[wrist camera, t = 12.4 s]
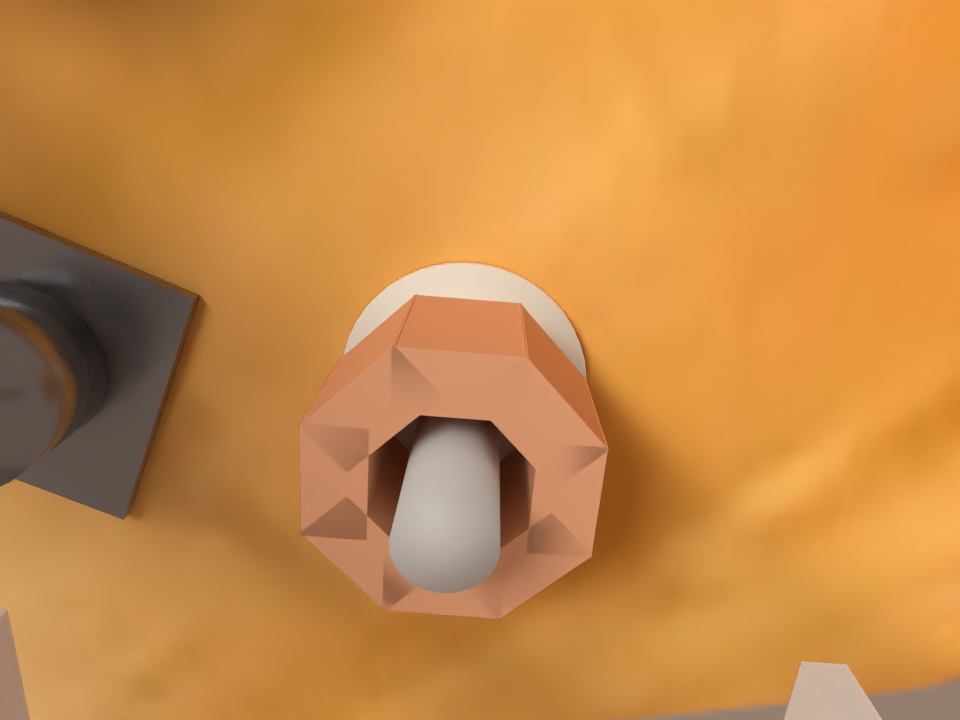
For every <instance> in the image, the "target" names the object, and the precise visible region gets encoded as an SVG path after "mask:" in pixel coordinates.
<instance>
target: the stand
mask: <svg viewBox="0 0 960 720" xmlns="http://www.w3.org/2000/svg"><path fill="white" fill-rule="evenodd" d="M198 299H199V295H197V294H195V293H192V292H190V291H188V290H185V289H183V288H181V287H178V286H176V285H173V284H171V283H169V282H166V281H164V280H162V279H159V278H157V277H154V276H152V275H150V274H147V273H145V272H143V271H140V270H138V269H136V268H133V267H131V266H128V265H126V264H124V263H121V262H119V261H117V260H114V259H112V258H110V257H107V256H105V255H102V254H100V253H98V252H95V251H93V250H91V249H88V248H86V247H83V246H81V245H79V244H76V243H74V242H72V241H69V240H67V239H65V238H62V237H60V236H57V235H55V234H53V233H50V232H48V231H46V230H43V229H41V228H38V227H36V226H34V225H31V224H29V223H27V222H24V221H22V220H20V219H17V218H15V217H12V216H10V215H8V214H5V213H3V212H1V211H0V486H2V485H4V484H6V483H9V482H10V481H12V480H13V479H17V480H20V481H23V482H25V483H28V484H30V485H33V486H36V487H38V488H41V489H44V490H46V491H49V492H52V493H54V494H57V495H60V496H62V497H65V498H68V499H70V500H73V501H76V502H78V503H81V504H84V505H86V506H89V507H92V508H94V509H97V510H100V511H102V512H105V513H108V514H110V515H113V516H116V517H118V518H121V519H124V518H125V517H126V516H127V515H128V514H129V513H130V510H131V507H132V504H133V500H134V497H135V494H136V491H137V488H138V485H139V482H140V479H141V476H142V473H143V469H144V466H145V463H146V460H147V457H148V454H149V451H150V448H151V445H152V441H153V438H154V435H155V432H156V429H157V426H158V423H159V420H160V417H161V414H162V410H163V407H164V404H165V401H166V398H167V395H168V392H169V389H170V386H171V382H172V379H173V376H174V373H175V370H176V367H177V364H178V361H179V358H180V354H181V351H182V348H183V345H184V342H185V339H186V336H187V333H188V330H189V327H190V323H191V320H192V317H193V314H194V311H195V308H196V305H197V302H198Z"/></svg>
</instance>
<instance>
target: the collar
mask: <svg viewBox="0 0 960 720" xmlns="http://www.w3.org/2000/svg"><path fill="white" fill-rule="evenodd" d="M419 415H425V416H437V417H450V418H462V419H475V420H488V421H492V423H493V424H494V425H495V426H496V427H497V428H498V429H499V430H500V431H501V432H502V433H503V434H504V435H505V437H506V438H507V439H508V440H509V441H510V442H511V443H512V444H513V445H514V446H515V447H516V448H517V449H516V450H514V451H513V452H512V453H510V454H509V455H508V456H506V457H505V458H504V459H502V460H501V461H500V556H499V559H498V562H497V565H496V567H495V568H494V570H493V571H492V573H491V574H490V575H489V576H488V577H487V578H486V579H485V580H484V581H483V582H481V583H480V584H478V585H477V586H475V587H473V588H471V589H468V590H465V591H461V592H456V593H436V592H432V591H428V590H425V589H422V588H420V587H418V586H416V585H414V584H412V583H411V582H409V581H408V580H407V579H405V578H404V577H403V576H402V575H401V574H400V572H399V571H398V570H397V568H396V567H395V565H394V563H393V561H392V559H391V555H390V551H389V538H390V533H391V529H392V525H393V521H394V517H395V513H396V509H397V505H398V501H399V497H400V493H401V489H402V485H403V481H404V477H405V472H406V468H407V464H408V460H409V456H410V451H409V450H408V449H407V448H406V447H405V446H404V445H403V444H402V443H401V442H400V441H399V440H398V439H397V438H396V437H395V436H394V435H395V434H397V433H398V432H399V431H401V430H402V429H403V428H404V427H406V426H407V425H408V424H409V423H411V422H412V421H413V420H414V419H416V418H417V417H418V416H419ZM299 427H300V497H301V532H300V534H301V535H303V536H304V537H305V538H306V539H307V540H308V541H309V542H310V543H311V544H312V545H313V546H315V547H316V548H317V549H318V550H319V551H320V552H321V553H322V554H323V555H324V556H325V557H327V558H328V559H329V560H330V561H331V562H332V563H333V564H334V565H335V566H336V567H337V568H338V569H340V570H341V571H342V572H343V573H344V574H345V575H346V576H347V577H348V578H349V579H350V580H351V581H353V582H354V583H355V584H356V585H357V586H358V587H359V588H360V589H361V590H362V591H363V592H365V593H366V594H367V595H368V596H369V597H370V598H371V599H372V600H373V601H374V602H375V603H376V604H378V605H379V606H380V607H381V608H382V610H384V611H385V610H389V611H402V612H415V613H427V614H440V615H453V616H466V617H479V618H492V619H501V617H503V616H504V615H506V614H507V613H509V612H510V611H512V610H513V609H515V608H516V607H518V606H519V605H521V604H522V603H524V602H525V601H527V600H528V599H530V598H531V597H532V596H534V595H535V594H537V593H538V592H540V591H541V590H543V589H544V588H546V587H547V586H549V585H550V584H552V583H553V582H555V581H556V580H558V579H559V578H561V577H562V576H564V575H565V574H566V573H568V572H569V571H571V570H572V569H574V568H575V567H577V566H578V565H580V564H581V563H583V562H584V561H586V560H587V559H589V558H591V557H592V556H593V555H592V549H593V543H594V536H595V530H596V524H597V517H598V511H599V504H600V498H601V491H602V485H603V479H604V472H605V466H606V459H607V453H608V451H609V448H608V445H607V442H606V439H605V436H604V433H603V430H602V427H601V424H600V421H599V417H598V414H597V411H596V408H595V405H594V402H593V399H592V396H591V393H590V390H589V387H588V384H587V381H586V378H585V377H584V376H583V375H582V374H581V373H580V372H579V371H578V369H577V368H576V367H575V366H574V365H573V364H572V362H571V361H570V360H569V359H568V358H567V357H566V355H565V354H564V353H563V352H562V351H561V350H560V349H559V347H558V346H557V345H556V344H555V343H554V342H553V340H552V339H551V338H550V337H549V336H548V335H547V333H546V332H545V331H544V330H543V329H542V328H541V326H540V325H539V324H538V323H537V322H536V321H535V320H534V318H533V317H532V316H531V315H530V314H529V313H528V311H527V310H526V309H525V308H524V307H523V306H522V303H520V302H519V303H512V302H499V301H487V300H474V299H462V298H449V297H437V296H425V295H417V294H415V295H413V297H412V298H411V299H410V300H408V301H407V302H406V303H405V304H404V305H403V306H401V307H400V308H399V309H398V310H397V311H396V312H394V313H393V314H392V315H391V316H390V317H388V318H387V319H386V320H385V321H384V322H383V323H381V324H380V325H379V326H378V327H377V328H376V329H374V330H373V331H372V332H371V333H370V334H369V335H367V336H366V337H365V338H364V339H363V340H362V341H360V342H359V343H358V344H357V345H356V346H354V347H353V348H352V349H351V350H350V351H349V352H347V353H346V354H345V355H344V356H343V357H342V358H339V360H338V362H337V363H336V365H335V367H334V368H333V370H332V371H331V373H330V375H329V376H328V378H327V380H326V381H325V383H324V384H323V386H322V388H321V389H320V391H319V393H318V394H317V396H316V397H315V399H314V401H313V402H312V404H311V406H310V407H309V409H308V410H307V412H306V414H305V415H304V417H303V419H302V420H301V422H300V424H299Z"/></svg>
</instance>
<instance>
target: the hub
mask: <svg viewBox="0 0 960 720" xmlns="http://www.w3.org/2000/svg"><path fill="white" fill-rule="evenodd" d="M415 294H417V295H425V296H437V297H449V298H462V299H474V300H487V301H499V302H512V303H519V302H520V303H522V306H523V307H524V308H525V309H526V310H527V311H528V313H529V314H530V315H531V316H532V317H533V318H534V320H535V321H536V322H537V323H538V324H539V325H540V326H541V328H542V329H543V330H544V331H545V332H546V333H547V335H548V336H549V337H550V338H551V339H552V340H553V342H554V343H555V344H556V345H557V346H558V347H559V349H560V350H561V351H562V352H563V353H564V354H565V355H566V357H567V358H568V359H569V360H570V361H571V362H572V364H573V365H574V366H575V367H576V368H577V369H578V371H579V372H580V373H581V374H582V375H583V376H584V377H585V378H586V379H587V375H586V366H585V359H584V356H583V352H582V348H581V345H580V342H579V339H578V337H577V335H576V332H575V330H574V328H573V326H572V324H571V322H570V321H569V319H568V317H567V316H566V314H565V313H564V311H563V310H562V309H561V308H560V306H559V305H558V304H557V303H556V302H555V301H554V300H553V299H552V298H551V297H550V296H549V295H548V294H547V293H546V292H545V291H544V290H543V289H541V288H540V287H538V286H537V285H536V284H534V283H533V282H531V281H530V280H528V279H526V278H524V277H522V276H521V275H519V274H517V273H515V272H512V271H509V270H507V269H504V268H501V267H498V266H494V265H489V264H485V263H477V262H447V263H441V264H435V265H431V266H428V267H424V268H421V269H418V270H416V271H413V272H411V273H409V274H407V275H405V276H403V277H401V278H399V279H398V280H396V281H395V282H393V283H391V284H390V285H389V286H387V287H386V288H385V289H384V290H382V291H381V292H380V293H379V294H378V295H377V296H376V297H375V298H374V299H373V300H372V301H371V302H370V303H369V304H368V306H367V307H366V308H365V310H364V311H363V313H362V314H361V316H360V317H359V319H358V320H357V322H356V323H355V325H354V327H353V329H352V331H351V333H350V335H349V338H348V341H347V344H346V347H345V350H344V355H345V354H346V353H347V352H349V351H350V350H351V349H352V348H353V347H354V346H356V345H357V344H358V343H359V342H360V341H362V340H363V339H364V338H365V337H366V336H367V335H369V334H370V333H371V332H372V331H373V330H374V329H376V328H377V327H378V326H379V325H380V324H381V323H383V322H384V321H385V320H386V319H387V318H388V317H390V316H391V315H392V314H393V313H394V312H396V311H397V310H398V309H399V308H400V307H401V306H403V305H404V304H405V303H406V302H407V301H408V300H410V299H411V298H412V297H413V295H415ZM344 355H343V356H344ZM394 436H395V437H396V438H397V439H398V440H399V441H400V442H401V443H402V444H403V445H404V446H405V447H406V448H407V449H408V450H409V451H410V456H409V460H408V464H407V468H406V472H405V477H404V481H403V485H402V489H401V493H400V497H399V501H398V505H397V509H396V513H395V517H394V521H393V525H392V529H391V533H390V538H389V551H390V555H391V559H392V561H393V563H394V565H395V567H396V568H397V570H398V571H399V572H400V574H401V575H402V576H403V577H404V578H405V579H407V580H408V581H409V582H411V583H412V584H414V585H416V586H418V587H420V588H422V589H425V590H428V591H432V592H436V593H456V592H461V591H465V590H468V589H471V588H473V587H475V586H477V585H478V584H480V583H481V582H483V581H484V580H485V579H486V578H487V577H488V576H489V575H490V574H491V573H492V571H493V570H494V568H495V567H496V565H497V562H498V559H499V556H500V461H501V460H502V459H504V458H505V457H506V456H508V455H509V454H510V453H512V452H513V451H514V450H516V449H517V448H516V447H515V446H514V445H513V444H512V443H511V442H510V441H509V440H508V439H507V438H506V437H505V435H504V434H503V433H502V432H501V431H500V430H499V429H498V428H497V427H496V426H495V425H494V424H493V423H492V421H488V420H475V419H462V418H450V417H437V416H425V415H419V416H418V417H417V418H416V419H414V420H413V421H412V422H411V423H409V424H408V425H407V426H406V427H404V428H403V429H402V430H401V431H399V432H398V433H397V434H395V435H394Z"/></svg>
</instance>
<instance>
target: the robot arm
mask: <svg viewBox="0 0 960 720" xmlns="http://www.w3.org/2000/svg"><path fill="white" fill-rule="evenodd" d="M0 720H30V718H29V713H28V709H27V704H26V699H25V694H24V689H23V684H22V679H21V674H20V669H19V664H18V659H17V654H16V649H15V644H14V640H13V635H12V630H11V625H10V620H9V615H8V610H0ZM784 720H882V719H881V717H880V716H879V714H878V713H877V711H876V709H875V708H874V706H873V705H872V703H871V702H870V700H869V698H868V697H867V695H866V694H865V692H864V691H863V689H862V687H861V686H860V684H859V683H858V681H857V680H856V678H855V676H854V675H853V673H852V672H851V670H850V668H849V667H848V665H847V664H834V663H818V662H803V661H802V662H801V665H800V669H799V672H798V675H797V678H796V682H795V685H794V688H793V692H792V695H791V698H790V701H789V705H788V708H787V711H786V715H785V718H784Z"/></svg>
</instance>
